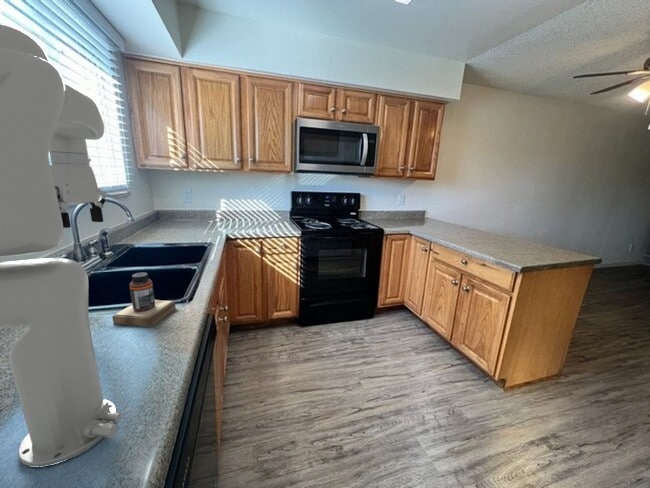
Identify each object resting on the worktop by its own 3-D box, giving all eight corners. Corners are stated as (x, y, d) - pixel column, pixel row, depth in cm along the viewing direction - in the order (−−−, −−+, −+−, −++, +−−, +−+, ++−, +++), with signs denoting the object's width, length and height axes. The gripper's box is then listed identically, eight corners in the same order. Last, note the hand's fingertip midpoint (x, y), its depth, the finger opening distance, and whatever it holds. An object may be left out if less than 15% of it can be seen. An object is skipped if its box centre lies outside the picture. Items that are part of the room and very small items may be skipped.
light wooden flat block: (175, 308, 94) (174, 300, 93) (150, 327, 82) (149, 317, 82) (142, 306, 95) (141, 298, 94) (113, 324, 83) (112, 314, 83)
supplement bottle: (134, 305, 89) (129, 272, 86) (156, 302, 91) (152, 270, 89) (131, 313, 83) (126, 278, 81) (154, 310, 86) (150, 276, 84)
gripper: (88, 162, 81) (97, 219, 85) (19, 157, 65) (35, 229, 69) (111, 162, 81) (120, 220, 85) (48, 158, 64) (62, 230, 68)
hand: (82, 224), depth 77 cm, fingers open, 9 cm apart
